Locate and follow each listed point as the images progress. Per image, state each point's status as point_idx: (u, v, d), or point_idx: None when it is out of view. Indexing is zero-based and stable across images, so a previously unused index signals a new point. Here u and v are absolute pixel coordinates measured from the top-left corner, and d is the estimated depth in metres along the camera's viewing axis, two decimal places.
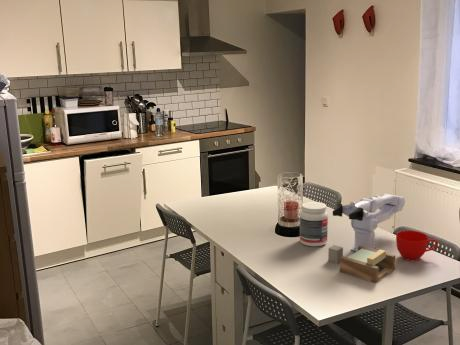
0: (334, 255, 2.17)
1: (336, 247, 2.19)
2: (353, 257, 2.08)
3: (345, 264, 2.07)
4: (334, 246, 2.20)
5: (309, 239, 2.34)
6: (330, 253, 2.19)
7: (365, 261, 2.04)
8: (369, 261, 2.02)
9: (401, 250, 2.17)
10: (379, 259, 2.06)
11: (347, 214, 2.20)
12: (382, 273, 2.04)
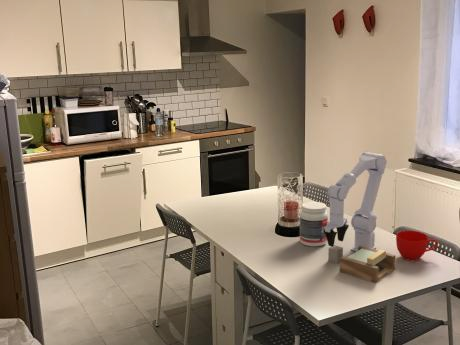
0: (334, 255, 2.17)
1: (336, 247, 2.19)
2: (353, 257, 2.08)
3: (345, 264, 2.07)
4: (334, 246, 2.20)
5: (309, 239, 2.34)
6: (330, 253, 2.19)
7: (365, 261, 2.04)
8: (369, 261, 2.02)
9: (401, 250, 2.17)
10: (379, 259, 2.06)
11: None
12: (382, 273, 2.04)
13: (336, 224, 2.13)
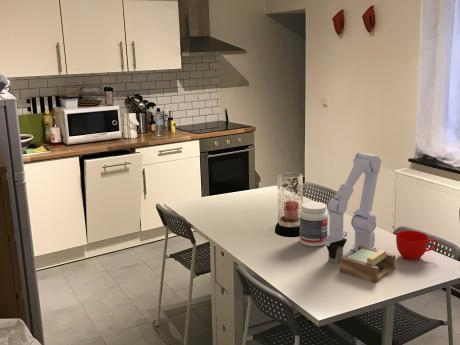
0: None
1: None
2: (353, 257, 2.08)
3: (345, 264, 2.07)
4: None
5: (309, 239, 2.34)
6: None
7: (365, 261, 2.04)
8: (369, 261, 2.02)
9: (401, 250, 2.17)
10: (379, 259, 2.06)
11: None
12: (382, 273, 2.04)
13: (336, 238, 2.15)
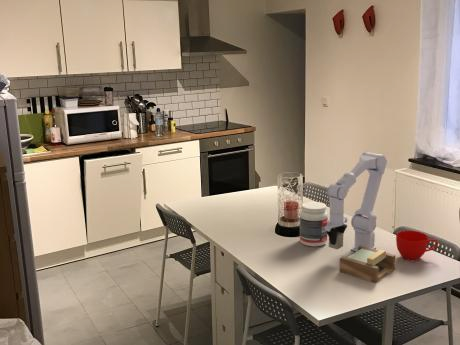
0: None
1: None
2: (353, 257, 2.08)
3: (345, 264, 2.07)
4: None
5: (309, 239, 2.34)
6: None
7: (365, 261, 2.04)
8: (369, 261, 2.02)
9: (401, 250, 2.17)
10: (379, 259, 2.06)
11: None
12: (382, 273, 2.04)
13: (336, 223, 2.13)
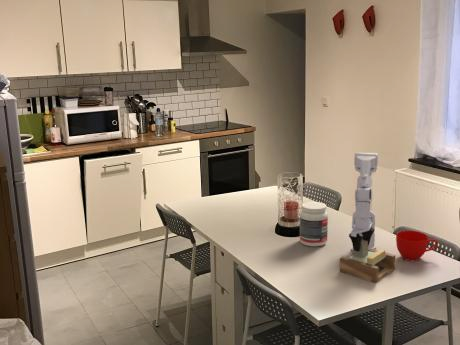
0: None
1: None
2: (353, 258, 2.08)
3: (345, 264, 2.07)
4: None
5: (309, 239, 2.34)
6: None
7: (365, 261, 2.04)
8: (369, 261, 2.02)
9: (401, 250, 2.17)
10: (379, 258, 2.06)
11: None
12: (382, 273, 2.04)
13: (362, 228, 2.05)
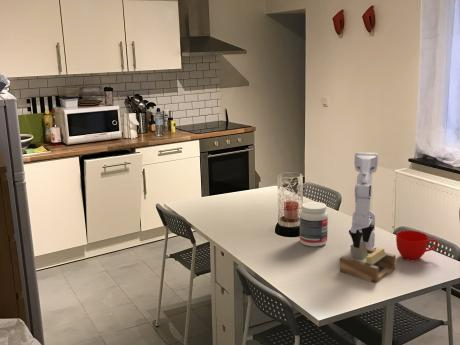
0: (358, 251, 2.09)
1: None
2: None
3: (345, 264, 2.07)
4: None
5: (309, 239, 2.34)
6: (353, 250, 2.10)
7: (365, 261, 2.04)
8: (368, 260, 2.03)
9: (401, 250, 2.17)
10: (378, 257, 2.06)
11: None
12: (382, 273, 2.04)
13: (362, 225, 2.05)
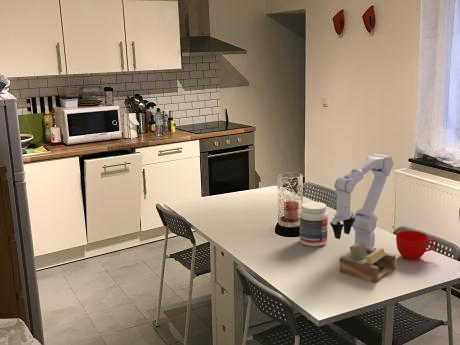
0: (357, 252, 2.09)
1: (357, 244, 2.12)
2: None
3: (345, 264, 2.07)
4: (355, 244, 2.13)
5: (309, 239, 2.34)
6: (353, 252, 2.11)
7: (365, 261, 2.04)
8: (368, 259, 2.03)
9: (401, 250, 2.17)
10: (378, 256, 2.06)
11: None
12: (382, 273, 2.04)
13: (343, 217, 2.15)
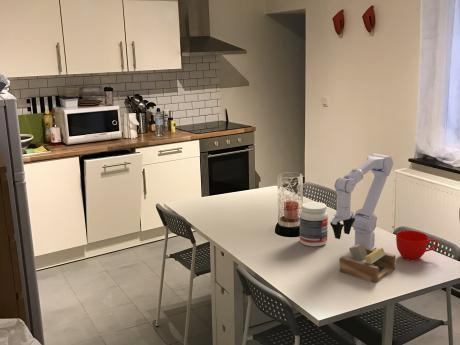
0: (357, 253, 2.09)
1: (357, 245, 2.12)
2: None
3: (345, 264, 2.07)
4: (354, 245, 2.13)
5: (309, 239, 2.34)
6: (352, 253, 2.11)
7: (365, 261, 2.04)
8: (367, 259, 2.03)
9: (401, 250, 2.17)
10: (378, 256, 2.06)
11: None
12: (382, 273, 2.04)
13: (343, 217, 2.15)
